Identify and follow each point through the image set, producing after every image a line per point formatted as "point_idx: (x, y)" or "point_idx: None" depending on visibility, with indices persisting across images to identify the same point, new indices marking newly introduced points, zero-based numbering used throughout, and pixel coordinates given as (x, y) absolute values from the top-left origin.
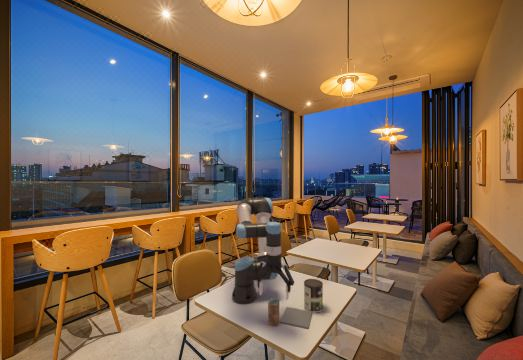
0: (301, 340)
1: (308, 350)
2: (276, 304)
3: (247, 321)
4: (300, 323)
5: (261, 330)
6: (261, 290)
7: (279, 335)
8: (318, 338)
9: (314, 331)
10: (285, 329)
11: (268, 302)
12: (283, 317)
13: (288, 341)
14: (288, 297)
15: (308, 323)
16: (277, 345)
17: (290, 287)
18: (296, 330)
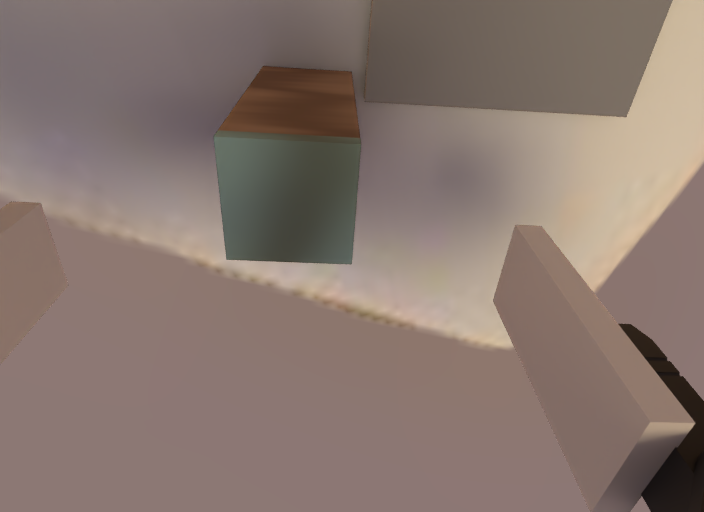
0: None
1: None
2: (345, 261)
3: (73, 157)
4: (561, 77)
5: None
6: (16, 306)
7: (384, 242)
8: (667, 200)
9: (662, 129)
10: (421, 169)
11: (229, 256)
12: (387, 21)
13: (451, 276)
14: (538, 234)
15: (642, 56)
16: (386, 319)
17: (693, 403)
18: (511, 157)
